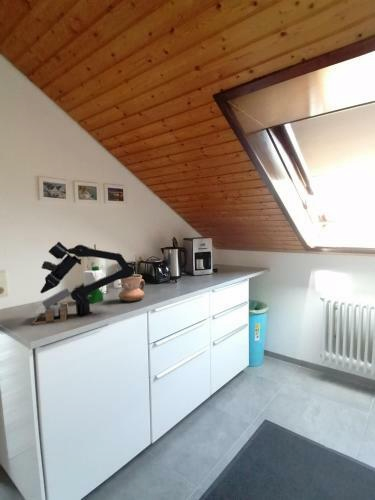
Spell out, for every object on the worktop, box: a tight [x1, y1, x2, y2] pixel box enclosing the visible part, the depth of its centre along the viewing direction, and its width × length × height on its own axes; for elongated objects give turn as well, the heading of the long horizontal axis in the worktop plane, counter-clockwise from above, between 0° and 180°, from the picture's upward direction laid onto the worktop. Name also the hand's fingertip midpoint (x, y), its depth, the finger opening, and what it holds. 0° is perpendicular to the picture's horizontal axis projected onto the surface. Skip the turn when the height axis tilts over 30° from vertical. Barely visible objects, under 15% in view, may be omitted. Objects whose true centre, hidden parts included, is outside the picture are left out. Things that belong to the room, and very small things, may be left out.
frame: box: [32, 301, 70, 326], centre depth 137 cm, size 16×14×6 cm
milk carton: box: [82, 265, 104, 304], centre depth 166 cm, size 9×9×20 cm
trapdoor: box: [34, 303, 62, 317], centre depth 136 cm, size 12×10×3 cm
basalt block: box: [41, 286, 72, 309], centre depth 137 cm, size 4×5×12 cm
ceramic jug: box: [117, 273, 146, 302], centre depth 166 cm, size 18×14×14 cm
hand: (42, 291), depth 135 cm, fingers open, 9 cm apart
